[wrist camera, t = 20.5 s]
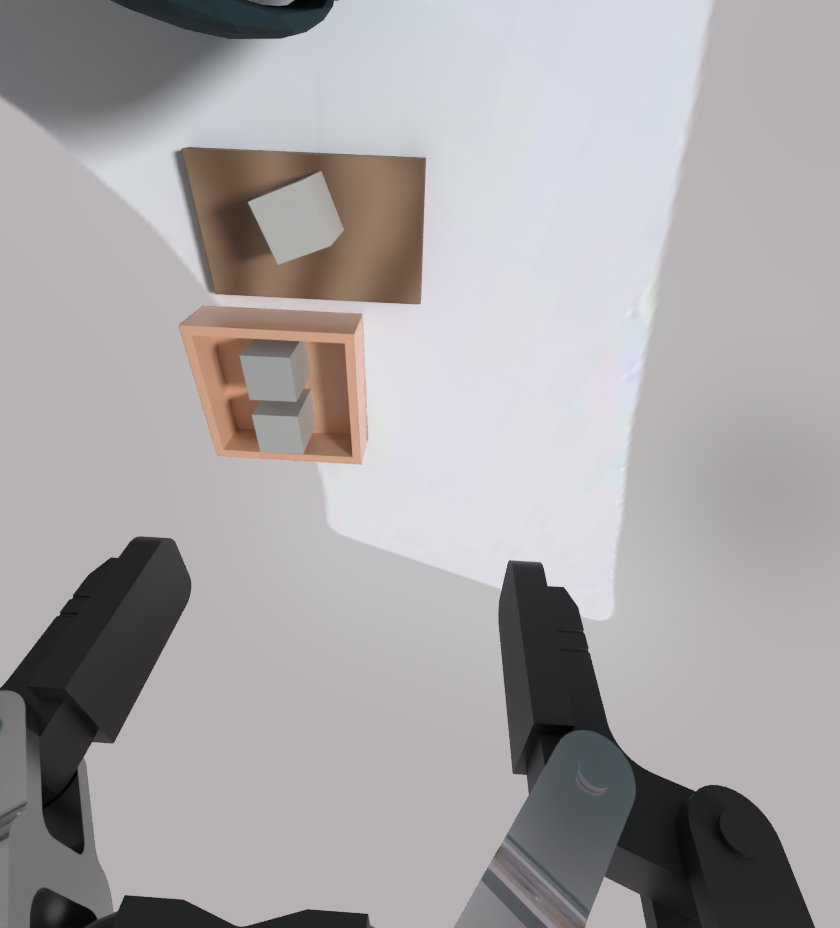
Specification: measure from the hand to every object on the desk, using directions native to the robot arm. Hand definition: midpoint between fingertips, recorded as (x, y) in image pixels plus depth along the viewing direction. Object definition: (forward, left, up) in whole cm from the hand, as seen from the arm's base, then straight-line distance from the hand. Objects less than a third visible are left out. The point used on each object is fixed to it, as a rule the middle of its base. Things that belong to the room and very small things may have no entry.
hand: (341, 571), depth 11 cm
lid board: (-8, +1, -32) cm, 33 cm away
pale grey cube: (-8, +2, -31) cm, 32 cm away
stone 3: (-12, -15, -31) cm, 36 cm away
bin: (-12, -12, -32) cm, 36 cm away
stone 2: (-12, -9, -31) cm, 35 cm away
